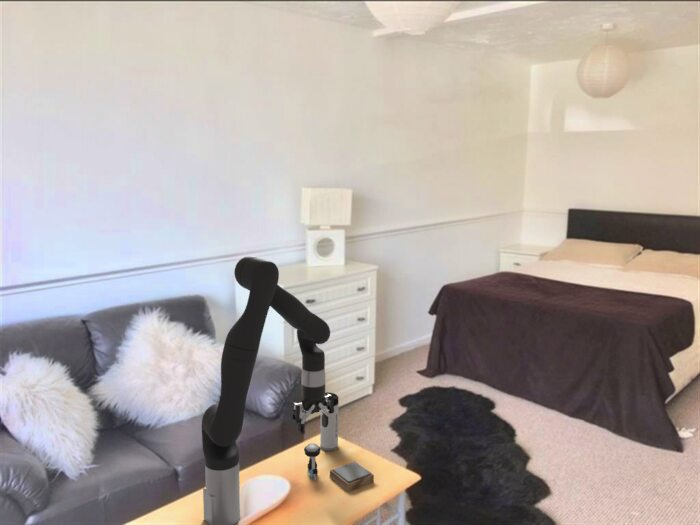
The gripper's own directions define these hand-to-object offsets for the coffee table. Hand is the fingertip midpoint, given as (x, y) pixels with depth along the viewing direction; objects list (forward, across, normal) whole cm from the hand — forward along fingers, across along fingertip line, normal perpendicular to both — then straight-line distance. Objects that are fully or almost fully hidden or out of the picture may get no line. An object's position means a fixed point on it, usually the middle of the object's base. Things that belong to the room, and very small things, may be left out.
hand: (313, 429), depth 179 cm
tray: (+16, +9, -9) cm, 20 cm away
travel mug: (+16, +15, +13) cm, 26 cm away
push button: (+16, 0, 0) cm, 16 cm away
